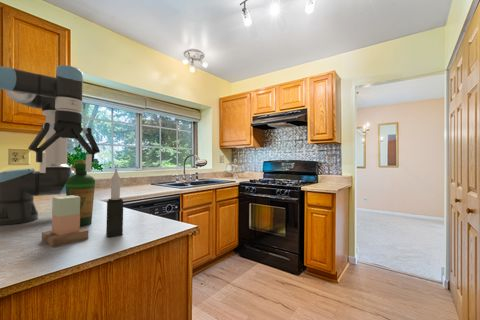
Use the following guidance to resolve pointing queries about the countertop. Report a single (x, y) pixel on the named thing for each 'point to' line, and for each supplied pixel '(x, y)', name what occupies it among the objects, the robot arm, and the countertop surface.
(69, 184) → the bottle
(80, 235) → the base block
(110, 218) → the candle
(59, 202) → the brick
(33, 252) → the countertop surface
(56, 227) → the brick
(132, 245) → the countertop surface
